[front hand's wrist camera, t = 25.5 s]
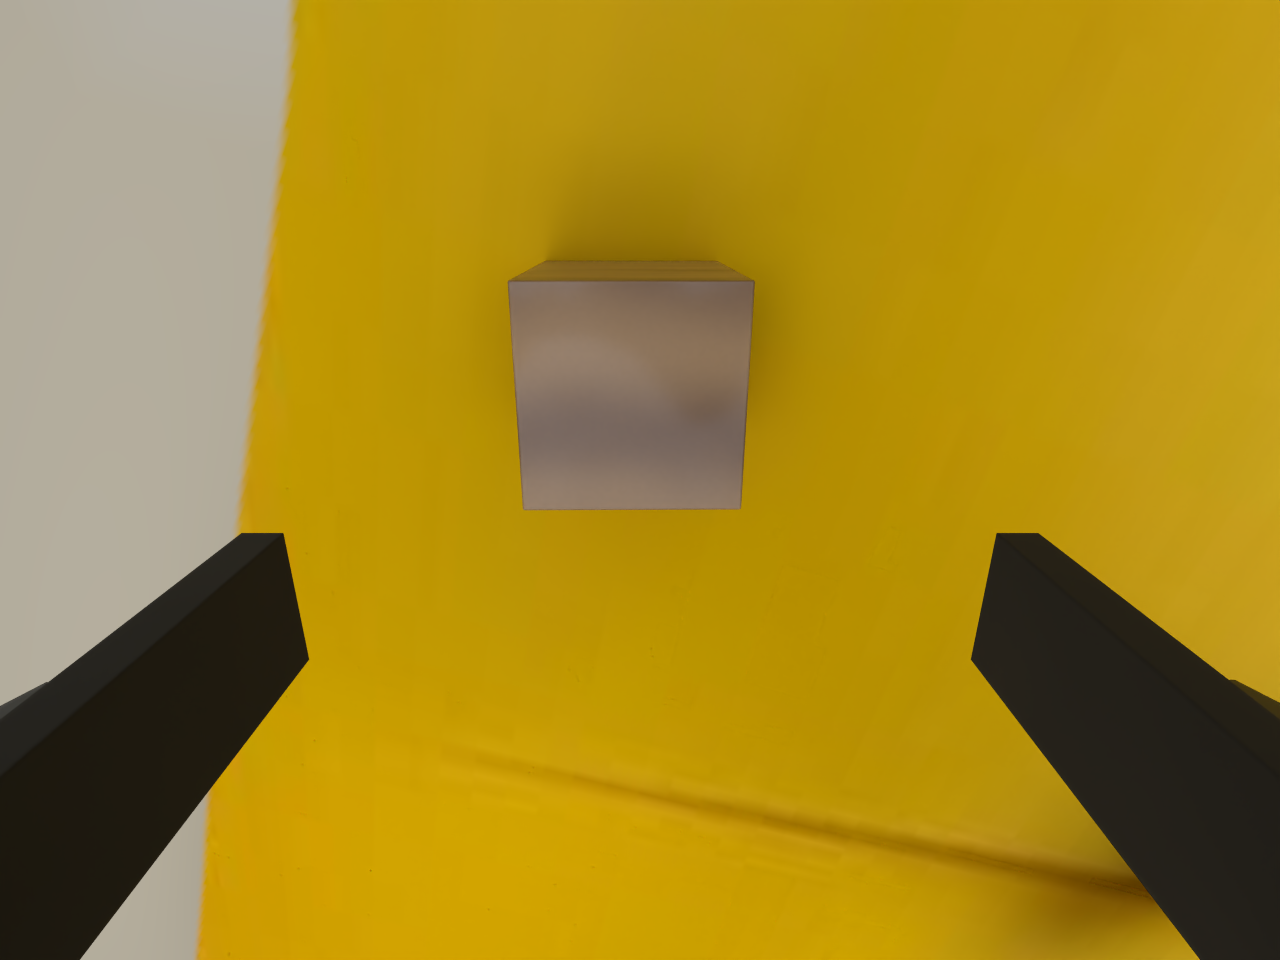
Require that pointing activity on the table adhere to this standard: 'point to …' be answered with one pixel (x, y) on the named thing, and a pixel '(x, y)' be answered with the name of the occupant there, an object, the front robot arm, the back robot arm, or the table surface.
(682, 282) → the block
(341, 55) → the table surface
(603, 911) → the table surface
